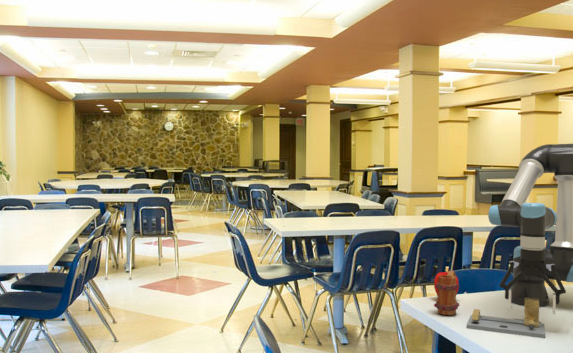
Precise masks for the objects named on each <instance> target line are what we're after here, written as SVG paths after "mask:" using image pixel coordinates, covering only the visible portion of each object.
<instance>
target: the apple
mask: <svg viewBox="0 0 573 353" xmlns="http://www.w3.org/2000/svg"><path fill="white" fill-rule="evenodd" d="M447 274H448V271H445V272H443V271H442V272H438V273H437V274H436V275H435V277H434V280H433V281H434V282H433V285H434V286H433V287H434V288H433V289H434V291H435V293H436V295H437V296H438V288H436V287H435V285H436V284H437V282H438V276H439V275H440V276H441V275H447ZM456 283H457V284H458V285H459V286H458V288H457V289H456V296H457V294H458V292H459V289H460V288H459V287H460V284H459V278H458V277H457V275H456Z"/></svg>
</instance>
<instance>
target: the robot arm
mask: <svg viewBox="0 0 573 353" xmlns="http://www.w3.org/2000/svg"><path fill="white" fill-rule="evenodd" d="M544 174H554V175H553V177H554V179H555V180H557V198H556V211H555V210H554V209H553V208H550V207H547V206H546V205H545V204H544V203H542V202H526V201H527V200H528V198H529V196H530V194H531V192H532V191H533V188H534V186H535V184H536V182H537V180H538V179H539V178H541V177H542V176H543V175H544ZM487 216H488V221H489V223H490V224H491V225H492V226H500V227H511V228H512V227H513V228H520V244H519V245H518V246H516V247H515V248H514V249H513V257H512V259H513V260H510V264H509V268H508V269H507V271H506V273H505V275H504V276H503V278H502V280H501V281H500V283H499V287H500V288H503V289H504V292H505V293H504V298H505V300H508V308H507V309H508V310H510V311H511V310H512V303H513V304H515V305H516V304H517V305H520V306H525V297H526V298H536V299H539V307H546V306H549V305H550V298H549V294H548V292H547V288H546V285H545V283H546V284H547V285H548V286H549V288H550V289H551V290H552V291H553V292H552V315H556V314H557V313H556V308H557V307H556V305H560V303H561V300H560V299H561V298H560V296H561V294H562V295H563V294H566V293H567V291H566V288H565V286H564V284H563V282H566V283H573V143H555V144H554V143H551V144H549V143H547V144H542V145H540V146H537V147H536V148H533V149H531V151H529V152H528V153H526V155H525V156H523V158H522V159H521V161H520V162H519V164H518V171H517V174H515V177H514V179H513V180H512V182H511V183H510V186H509V188H508V190H507V191H506V193H505V194H504V196H503V198H502V201H501V202H500V204H494V205H493V204H492V205H491V206H490V207H489V209H488V215H487ZM552 227H555V233H554V234H555V235H554V242H552V243H550V245H549V246H550V247H549V248H550V249H546V230H549V229H550V228H552ZM511 274H513V275H512V277H513V278H512V279H511V280H510V281H508V280H509V278H510V276H511ZM552 280H553V281H555V282H556V284H557V285H558V287H559V289H558V288H557V287H556V285H555V284H554V283H553V281H552ZM507 281H508V283H507ZM506 283H507V284H506Z"/></svg>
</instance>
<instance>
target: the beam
mask: <svg viewBox="0 0 573 353" xmlns="http://www.w3.org/2000/svg"><path fill="white" fill-rule="evenodd" d="M471 315H472V319H473V320H474V323H477V320H478V319H479V318H480V319H489V320H497V321H506V322H514V323H522V324H524V319H521V318H520V319H519V318H511V317H503V316H494V315H493V316H492V315H488V314H487V315H485V314H481V310H480V309H477V308H474V309H473V311H472V313H471ZM541 323H542V321H539V327H541Z"/></svg>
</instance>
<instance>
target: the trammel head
mask: <svg viewBox="0 0 573 353" xmlns="http://www.w3.org/2000/svg"><path fill="white" fill-rule="evenodd" d="M523 312H524V318H523V320H524V325H527V326H530V329H533V326H535V327H539V322H540V306H539V299H536V298H526V297H525V305H524V311H523Z"/></svg>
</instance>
